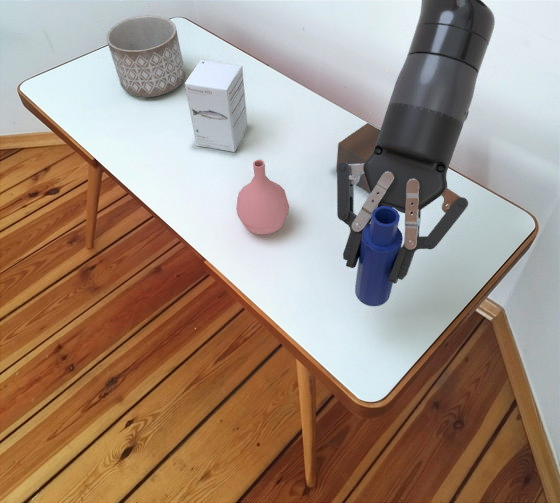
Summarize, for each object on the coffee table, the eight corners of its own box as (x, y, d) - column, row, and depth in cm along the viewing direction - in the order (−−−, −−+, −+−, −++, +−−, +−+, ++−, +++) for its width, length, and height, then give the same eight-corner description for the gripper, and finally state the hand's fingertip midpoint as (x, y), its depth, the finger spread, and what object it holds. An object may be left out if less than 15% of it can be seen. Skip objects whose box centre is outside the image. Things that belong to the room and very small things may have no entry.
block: (397, 171, 84) (402, 142, 79) (369, 193, 81) (373, 164, 76) (364, 151, 87) (367, 122, 82) (336, 172, 84) (338, 143, 80)
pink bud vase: (248, 249, 75) (240, 190, 65) (231, 214, 79) (222, 153, 70) (297, 233, 76) (296, 173, 67) (278, 199, 81) (275, 138, 71)
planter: (187, 62, 106) (178, 13, 98) (184, 99, 98) (173, 48, 90) (126, 66, 106) (111, 17, 98) (118, 103, 98) (101, 53, 90)
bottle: (397, 292, 59) (415, 215, 49) (374, 312, 58) (388, 238, 48) (370, 272, 61) (383, 194, 51) (347, 291, 60) (356, 215, 50)
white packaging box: (195, 147, 89) (181, 83, 79) (211, 121, 94) (200, 57, 84) (235, 154, 88) (226, 89, 78) (249, 127, 92) (243, 63, 82)
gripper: (350, 86, 50) (298, 254, 52) (502, 123, 45) (436, 304, 48) (365, 102, 57) (318, 250, 59) (498, 135, 52) (441, 293, 55)
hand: (371, 273), depth 54 cm, fingers closed on bottle, 4 cm apart
